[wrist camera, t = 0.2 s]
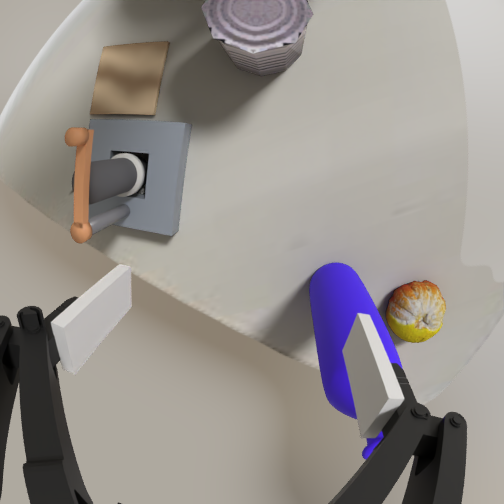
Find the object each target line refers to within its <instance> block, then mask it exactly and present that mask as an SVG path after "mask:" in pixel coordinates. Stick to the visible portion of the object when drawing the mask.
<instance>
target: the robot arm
mask: <svg viewBox="0 0 504 504" xmlns="http://www.w3.org/2000/svg"><path fill="white" fill-rule="evenodd" d="M130 308H131V267H130V266H126V265H122V264H119V265H118V266H117V267H115V268H114V269H113V270H112V271H110V272H109V273H108V274H107V275H105V276H104V277H103V278H102V279H101V280H99V281H98V282H97V283H96V284H95V285H93V286H92V287H91V288H90V289H89V290H87V291H86V292H85V293H84V294H83V295H82V296H80V297H79V298H78V297H73V298H70V299H68V300H66V301H65V302H64V303H62V304H61V306H59V307H58V308H57V309H56V310H54V311H53V312H52V313H51V314H49V315H48V316H47V317H46V318H45V319H44V318H43V313H42V310H41V309H40V308H39V307H36V306H28V307H24V308H23V309H21V310H20V311H19V312H18V314H17V318H18V322H19V326H20V327H15V326H11V322H10V319H9V318H8V317H6V316H0V498H1V493H2V483H3V469H4V459H5V451H6V443H7V437H8V430H9V424H10V419H11V414H12V409H13V404H14V400H15V396H16V392H17V388H18V383H19V388H20V409H21V421H22V431H23V439H24V446H25V453H26V459H27V462H26V463H25V464H23V473H24V478H25V483H26V487H27V492H28V495H29V500H30V504H93V502H92V500H91V498H90V496H89V494H88V492H87V490H86V488H85V485H84V482H83V480H82V476H81V474H80V470H79V467H78V464H77V461H76V457H75V454H74V451H73V447H72V443H71V439H70V435H69V431H68V427H67V422H66V418H65V413H64V408H63V403H62V397H61V392H60V386H59V378H58V371H57V367H56V364H57V363H58V362H59V361H60V362H61V365H62V368H63V369H64V370H66V371H68V372H70V373H72V374H76V373H77V372H78V370H79V369H80V368H81V367H82V365H83V364H84V363H85V362H86V361H87V359H88V358H89V357H90V356H91V354H92V353H93V352H94V351H95V349H96V348H97V347H98V346H99V345H100V343H101V342H102V341H103V340H104V338H105V337H106V336H107V335H108V334H109V333H110V331H111V330H112V329H113V328H114V327H115V326H116V324H117V323H118V322H119V321H120V320H121V318H122V317H123V316H124V315H125V314H126V313H127V311H128V310H129V309H130ZM342 352H343V356H344V360H345V364H346V369H347V373H348V378H349V382H350V387H351V391H352V396H353V400H354V405H355V410H356V415H357V420H358V425H359V430H360V435H361V438H376V437H377V436H378V435H379V433H380V432H381V431H382V433H383V438H382V440H381V441H380V442H379V443H378V444H377V446H376V447H375V448H374V449H373V452H372V453H371V454H370V456H369V457H368V458H367V459H366V461H365V462H364V463H363V465H362V466H361V467H360V468H359V470H358V471H357V472H356V473H355V474H354V476H353V477H352V478H351V479H350V480H349V481H348V483H347V484H346V485H345V486H344V487H343V488H342V490H341V491H340V492H339V493H338V494H337V495H336V496H335V497H334V498H333V499H332V501H330V502H329V503H328V504H382V503H383V501H384V500H385V498H386V497H387V495H388V494H389V492H390V491H391V489H392V488H393V486H394V485H395V483H396V482H397V480H398V479H399V477H400V475H401V474H402V472H403V470H404V469H405V467H406V465H407V463H408V462H409V460H410V458H411V456H412V455H414V461H413V465H412V470H411V473H410V477H409V481H408V485H407V489H406V492H405V495H404V499H403V502H402V504H461V502H462V495H463V487H464V477H465V466H466V465H465V464H466V446H467V424H466V421H465V419H464V417H462V416H461V415H460V414H458V413H456V412H449V413H447V414H446V415H445V417H444V418H438V417H435V416H431V415H430V412H429V410H428V409H427V408H426V407H425V406H424V405H422V404H419V403H417V401H416V399H415V396H414V394H413V391H412V389H411V387H410V384H409V382H408V380H407V379H406V375H405V373H404V370H403V369H402V368H401V367H400V366H399V365H398V364H397V363H390V361H389V358H388V356H387V353H386V351H385V349H384V346H383V344H382V342H381V339H380V337H379V335H378V332H377V330H376V328H375V326H374V323H373V321H372V319H371V317H370V315H368V314H362V313H357V316H356V318H355V321H354V323H353V326H352V328H351V331H350V333H349V336H348V338H347V341H346V343H345V345H344V348H343V350H342ZM118 504H121V503H118Z"/></svg>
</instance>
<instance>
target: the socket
mask: <svg viewBox="0 0 504 504" xmlns="http://www.w3.org/2000/svg"><path fill="white" fill-rule="evenodd" d="M191 127H192V124H188V123H180V122H167V121H151V120H124V119H90V124H89V130H94V135H93V144H92V154H91V162H92V161H99V160H107V159H111V158H112V157H114V156H115V155H117V154H120V151H126V152H138V153H149V160H148V169H147V179H146V190H145V195H144V194H137V193H134V194H132V195H129V196H126V197H119V196H113V197H111V198H108V199H105V200H102V201H99V202H97V203H94V204H90V205H89V216H88V222H89V223H90V225H91V227H92V235H93V234H95V233H97V232H99V231H100V230H102V229H104V228H106V227H108V226H110V225H117V226H122V227H128V228H133V229H138V230H143V231H149V232H154V233H159V234H164V235H169V236H172V235H173V234H175V233H176V232H177V231H178V230H179V220H180V210H181V201H182V192H183V184H184V176H185V168H186V161H187V153H188V146H189V140H190V133H191Z"/></svg>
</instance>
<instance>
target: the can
mask: <svg viewBox="0 0 504 504" xmlns="http://www.w3.org/2000/svg"><path fill="white" fill-rule="evenodd" d="M201 9H202V11H203V14H204V16H205V19H206V21H207V24H208V26H209V29H210V31H211V34H212V37H213V39H216V40H219V42H220V44H221V45H222V47H223V48H224V50H225V52H226V53H227V54H228V56H229V57H230V58H231V60H232V61H233V62H234V64H235V65H236V66H237V68H238V69H241V70H245V71H248V72H251V73H254V74H257V75H260V76H263V75H268V74H272V73H277V72H282V71H286V70H287V69H288V68H289V67H290V66H291V65H292V64H293V63H294V62H295V61H296V60H297V59H298V58H299V57H300V56H301V53H302V48H303V43H304V38H305V33H306V28H307V23H308V22H309V20H310V19H311V17H312V15H313V12H312V10H311V8H310V6H309V4H308V1H307V0H206V1H205V2H204V4H203V5H202V7H201Z"/></svg>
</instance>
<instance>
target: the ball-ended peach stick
mask: <svg viewBox="0 0 504 504" xmlns="http://www.w3.org/2000/svg"><path fill="white" fill-rule="evenodd" d="M93 135H94V130H89V129H86V128H69V129H68V130H67V132H66V134H65V143H66V144H67V145H68V146H77V150H76V162H75V180H74V223H73V224H72V226H71V229H70V231H71V236H72V238H73V239H74V241H75V242H77V243H83V242H85V241H87V240H89V239H90V238H91V236H92V227H91V225H90V223H89V222H88V216H89V182H90V166H91V154H92V144H93Z"/></svg>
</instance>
